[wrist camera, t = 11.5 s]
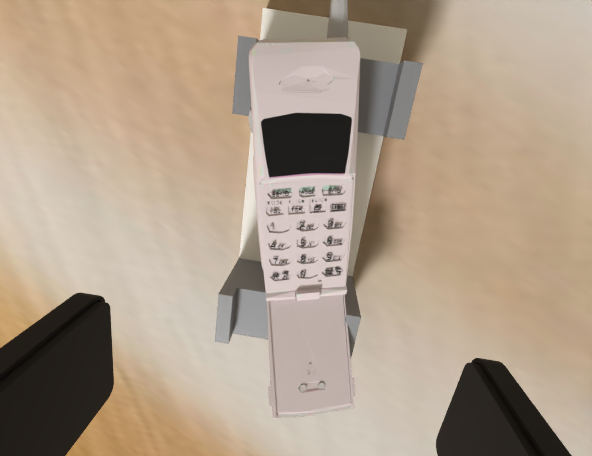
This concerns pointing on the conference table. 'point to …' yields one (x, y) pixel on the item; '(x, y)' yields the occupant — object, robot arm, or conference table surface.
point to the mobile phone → (306, 210)
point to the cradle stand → (371, 129)
